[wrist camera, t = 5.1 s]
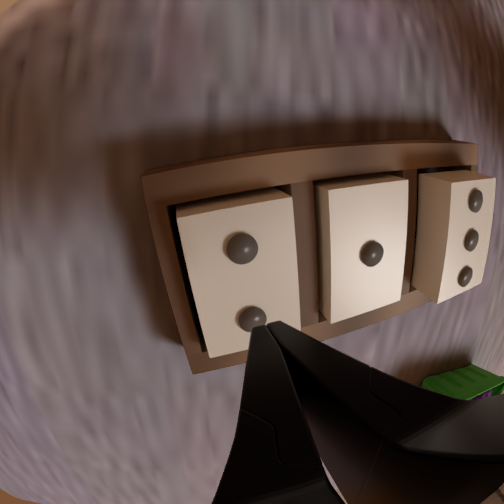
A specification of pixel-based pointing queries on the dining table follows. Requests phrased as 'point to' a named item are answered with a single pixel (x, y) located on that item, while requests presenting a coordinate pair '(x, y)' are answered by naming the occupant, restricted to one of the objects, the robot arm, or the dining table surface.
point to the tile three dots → (452, 232)
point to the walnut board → (301, 190)
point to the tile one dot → (359, 242)
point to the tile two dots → (240, 264)
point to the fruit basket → (466, 383)
